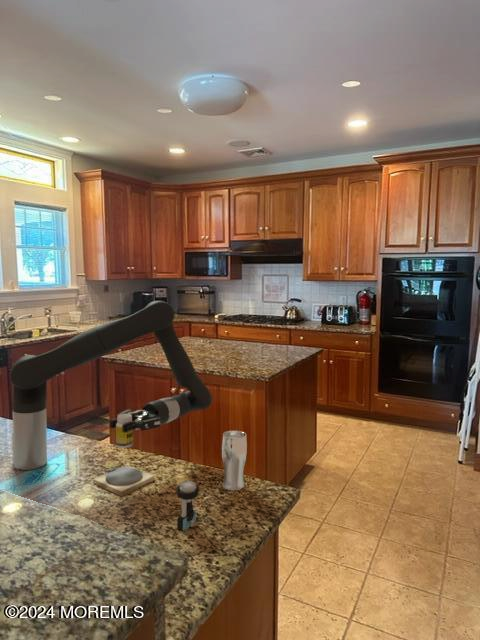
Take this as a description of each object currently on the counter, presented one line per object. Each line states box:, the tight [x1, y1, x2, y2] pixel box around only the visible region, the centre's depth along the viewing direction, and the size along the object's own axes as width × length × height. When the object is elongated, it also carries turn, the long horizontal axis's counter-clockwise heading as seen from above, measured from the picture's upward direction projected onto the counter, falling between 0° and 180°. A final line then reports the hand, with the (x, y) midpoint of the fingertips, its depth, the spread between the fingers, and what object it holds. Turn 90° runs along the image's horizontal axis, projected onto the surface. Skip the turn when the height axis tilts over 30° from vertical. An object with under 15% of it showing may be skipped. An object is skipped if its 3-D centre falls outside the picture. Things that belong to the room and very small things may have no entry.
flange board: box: [92, 464, 156, 497], centre depth 125 cm, size 12×12×2 cm
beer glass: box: [221, 430, 248, 492], centre depth 123 cm, size 7×7×15 cm
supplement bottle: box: [115, 414, 134, 449], centre depth 123 cm, size 5×5×8 cm
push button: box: [176, 480, 200, 531], centre depth 104 cm, size 7×5×10 cm
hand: (116, 426), depth 121 cm, fingers closed on supplement bottle, 4 cm apart
